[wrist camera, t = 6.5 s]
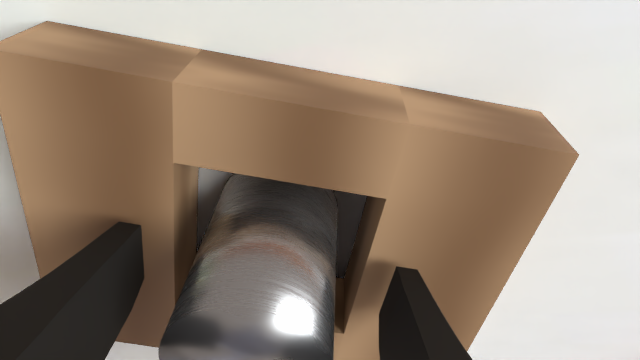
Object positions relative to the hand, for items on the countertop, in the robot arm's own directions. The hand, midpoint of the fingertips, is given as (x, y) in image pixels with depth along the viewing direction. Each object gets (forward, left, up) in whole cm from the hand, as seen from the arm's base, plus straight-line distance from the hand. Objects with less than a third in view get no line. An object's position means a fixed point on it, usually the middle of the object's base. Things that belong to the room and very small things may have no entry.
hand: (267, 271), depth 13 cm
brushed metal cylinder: (0, 0, -3) cm, 3 cm away
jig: (0, 0, -3) cm, 3 cm away
